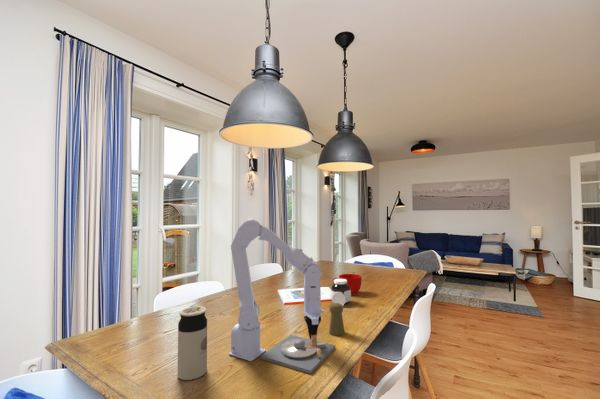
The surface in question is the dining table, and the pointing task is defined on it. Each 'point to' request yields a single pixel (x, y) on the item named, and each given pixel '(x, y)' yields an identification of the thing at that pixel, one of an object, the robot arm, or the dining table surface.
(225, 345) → the dining table surface
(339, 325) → the cork
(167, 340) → the dining table surface
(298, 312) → the dining table surface
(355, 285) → the ceramic cup
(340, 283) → the spread jar
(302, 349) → the flange plate
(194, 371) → the travel mug
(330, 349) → the turntable base
